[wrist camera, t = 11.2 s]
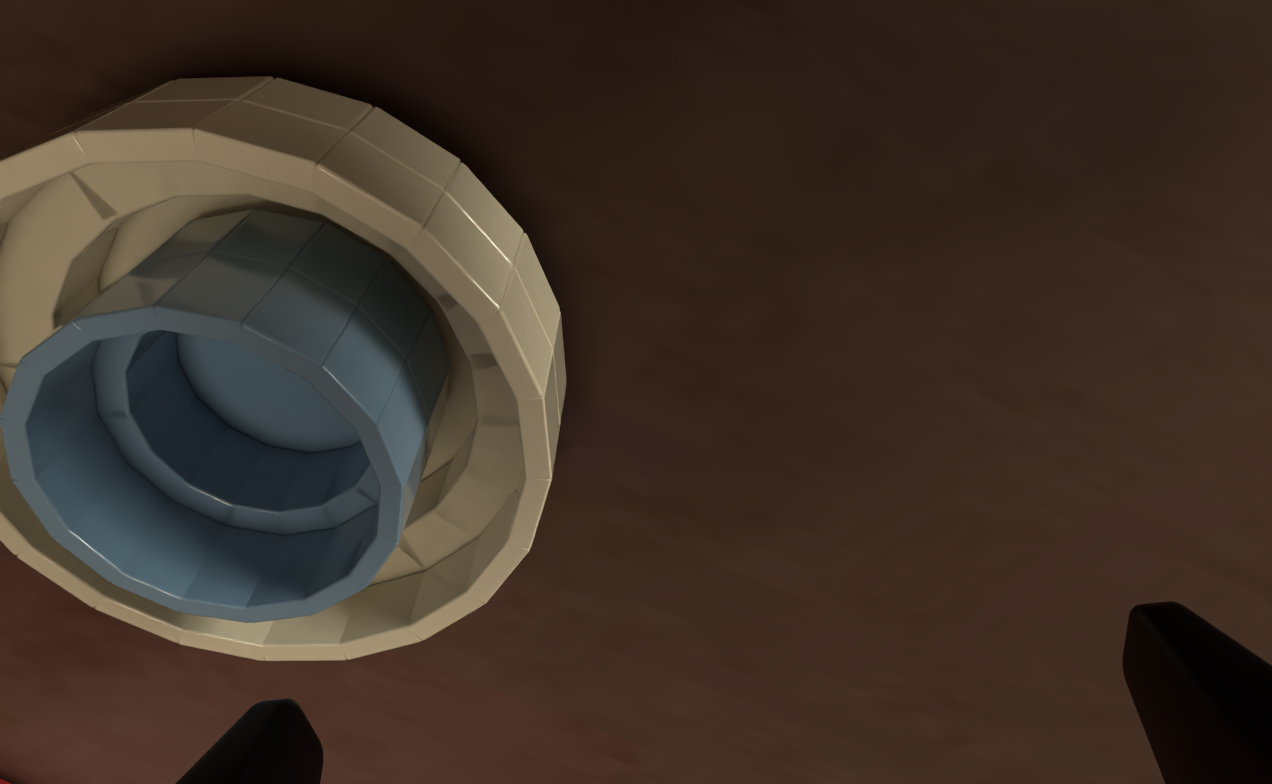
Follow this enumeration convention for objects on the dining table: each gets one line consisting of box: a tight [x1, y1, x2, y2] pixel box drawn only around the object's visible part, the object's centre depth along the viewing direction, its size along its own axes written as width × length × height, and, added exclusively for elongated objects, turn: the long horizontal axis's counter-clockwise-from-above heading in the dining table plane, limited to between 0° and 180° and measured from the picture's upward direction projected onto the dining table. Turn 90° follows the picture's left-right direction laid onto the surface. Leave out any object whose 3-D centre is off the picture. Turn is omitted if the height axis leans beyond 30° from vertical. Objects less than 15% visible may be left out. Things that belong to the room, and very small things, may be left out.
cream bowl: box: [0, 76, 566, 661], centre depth 19 cm, size 12×12×4 cm
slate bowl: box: [0, 209, 450, 623], centre depth 19 cm, size 7×7×5 cm
